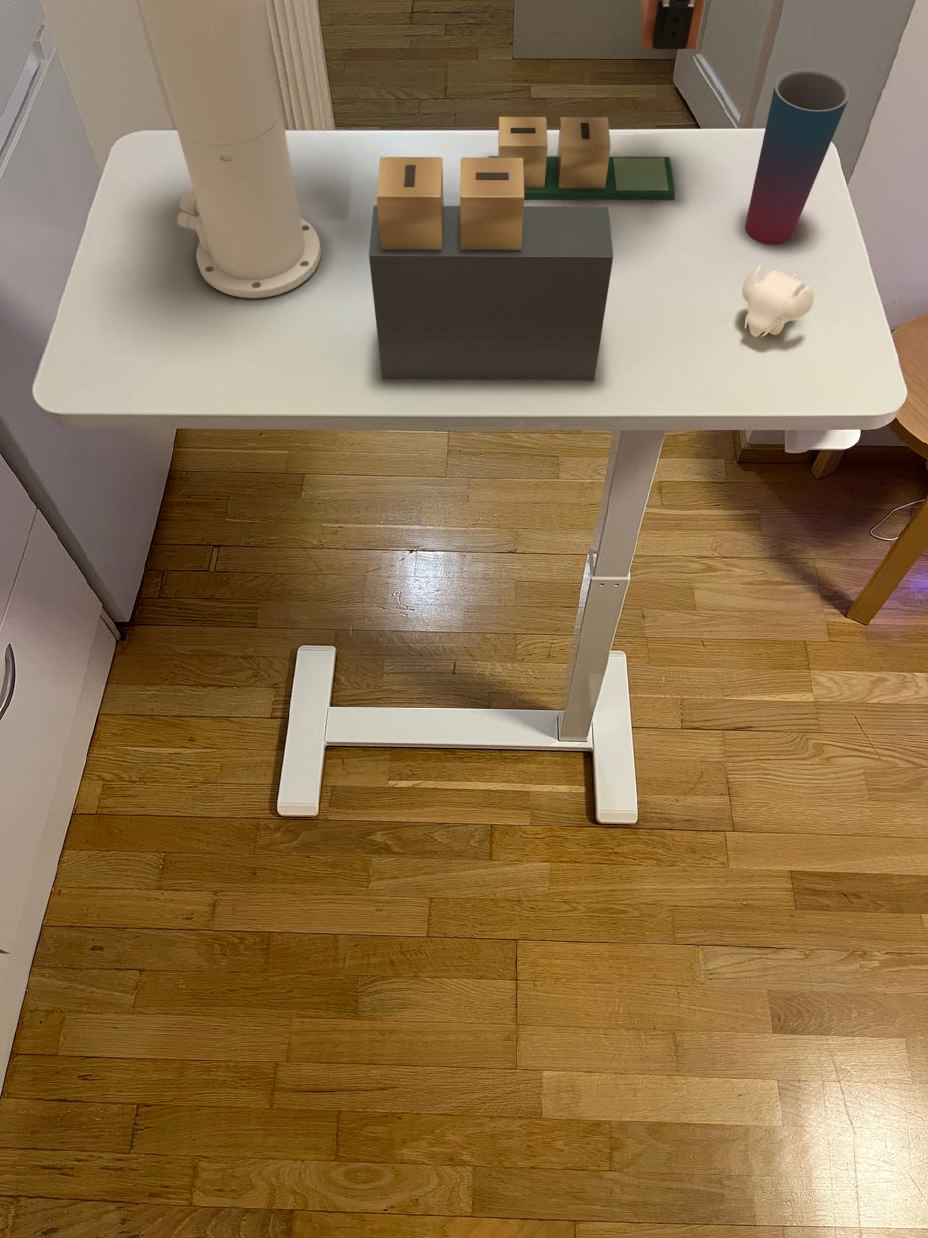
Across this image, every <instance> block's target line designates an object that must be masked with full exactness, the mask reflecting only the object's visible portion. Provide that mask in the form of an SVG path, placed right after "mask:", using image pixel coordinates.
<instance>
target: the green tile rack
mask: <svg viewBox="0 0 928 1238" xmlns="http://www.w3.org/2000/svg"><path fill="white" fill-rule="evenodd" d="M559 119H560V120H559V131H558V142H557V153H556V155H548V145H549V143H548V125H547V117H546V116H499V117H498V137H497V138H498V140H497V141H498V143H497V155H489V156H488V158H523V168H524V200H615V201H616V200H617V201H618V200H621V201H622V200H623V201H624V200H628V201H629V200H632V201H633V200H634V201H635V200H637V201H638V200H639V201H640V200H641V201H642V200H644V201H648V200H651V201H652V200H653V201H658V200H659V201H663V200H664V201H674V200H675V198H676V190H675V182H674V175H673V169H672V162H671V157H670V156H610V155H611V154H610V153H611V136H610V126H609V125H610V124H609V117H606V116H560V118H559Z"/></svg>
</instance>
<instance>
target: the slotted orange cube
mask: <svg viewBox="0 0 928 1238" xmlns="http://www.w3.org/2000/svg"><path fill="white" fill-rule="evenodd" d="M659 1H662V0H640V3H639V10H638V18H637V21H638V31H639V37H640V44H641V49H642V50H655V49H654V48H653V44H652V41H653V34H654V28H655V21H656V15H657V8H658V2H659ZM694 4H695V5H694V10H693V16H692V21H691V27H690V32H689V38H688V43H687V46H686V48H684V49H683V50H695V49H696V45H697V41H698V36H699V30H700V25H701V20H702V15H703V9H704V5H705V0H695V2H694Z"/></svg>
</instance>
